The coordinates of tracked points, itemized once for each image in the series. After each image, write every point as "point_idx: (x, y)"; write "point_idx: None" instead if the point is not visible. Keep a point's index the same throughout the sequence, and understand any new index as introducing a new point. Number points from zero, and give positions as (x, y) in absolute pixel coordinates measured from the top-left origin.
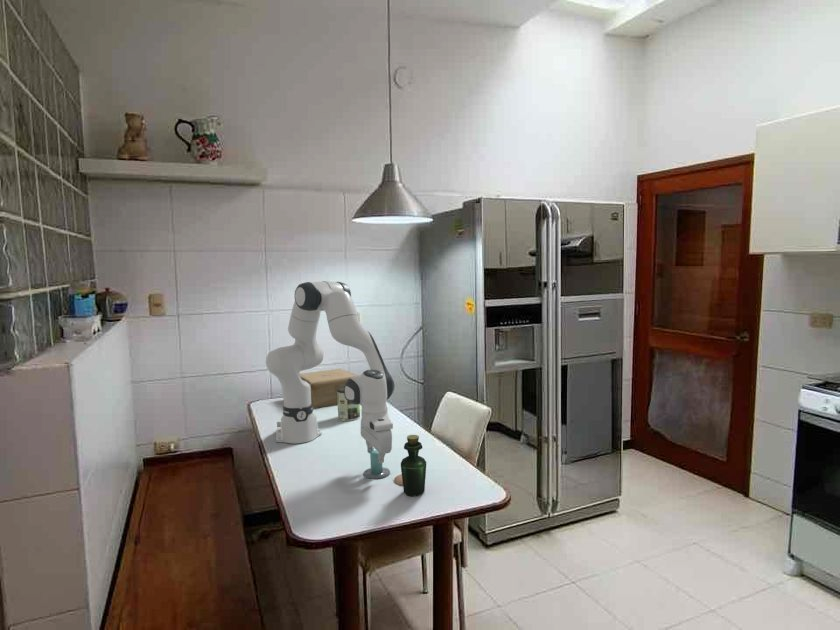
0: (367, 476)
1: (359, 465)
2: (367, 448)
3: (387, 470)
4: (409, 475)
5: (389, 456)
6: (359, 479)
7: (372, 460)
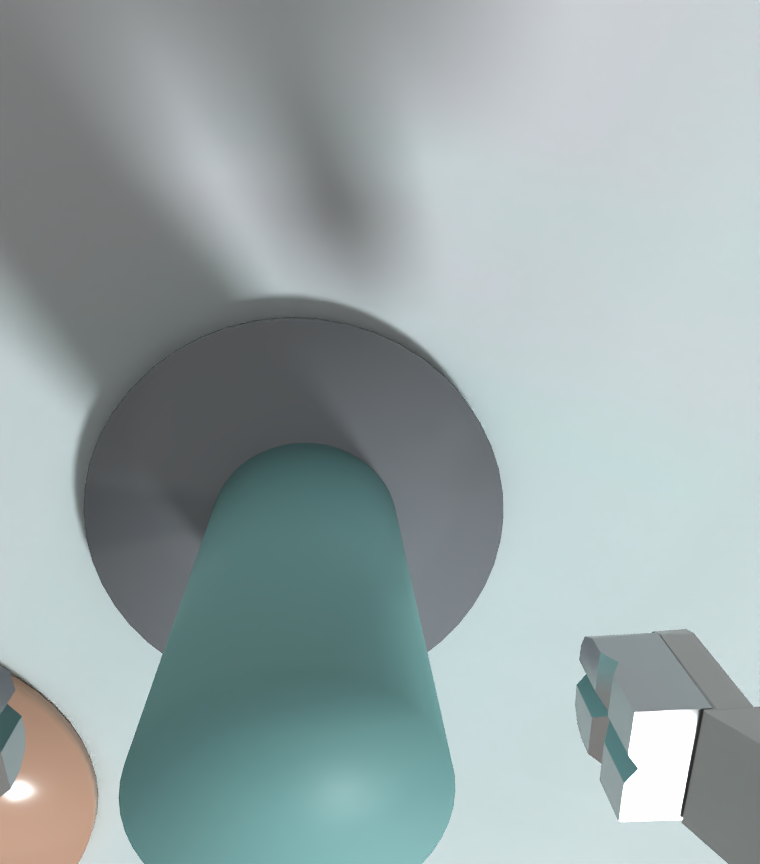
0: (204, 346)
1: (733, 379)
2: (733, 689)
3: None
4: None
5: None
6: (193, 191)
7: (222, 581)
